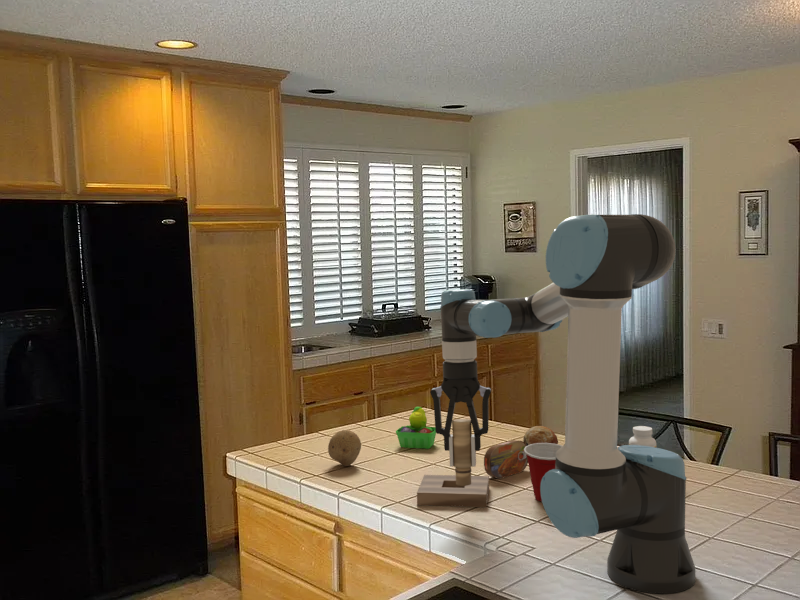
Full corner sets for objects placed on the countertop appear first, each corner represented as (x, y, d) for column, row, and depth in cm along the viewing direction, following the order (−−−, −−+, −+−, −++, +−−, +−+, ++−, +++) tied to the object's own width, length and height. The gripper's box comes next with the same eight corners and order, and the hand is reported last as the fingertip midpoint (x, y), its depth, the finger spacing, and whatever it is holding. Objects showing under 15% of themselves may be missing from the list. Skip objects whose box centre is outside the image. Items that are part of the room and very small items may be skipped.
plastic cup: (536, 508, 178) (536, 456, 177) (517, 494, 189) (516, 445, 188) (579, 503, 181) (579, 452, 180) (558, 489, 192) (557, 441, 191)
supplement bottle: (626, 480, 198) (625, 429, 197) (631, 473, 203) (631, 424, 202) (653, 483, 194) (653, 432, 194) (658, 476, 200) (658, 426, 199)
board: (486, 507, 180) (486, 494, 180) (417, 505, 183) (416, 492, 183) (489, 488, 194) (488, 476, 194) (424, 486, 197) (424, 474, 196)
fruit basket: (395, 448, 234) (394, 410, 233) (403, 441, 242) (402, 404, 241) (432, 450, 230) (431, 412, 229) (439, 442, 239) (438, 406, 238)
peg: (472, 486, 172) (470, 422, 171) (453, 486, 173) (451, 422, 172) (473, 480, 176) (471, 418, 176) (455, 480, 177) (453, 418, 176)
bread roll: (522, 456, 235) (511, 433, 233) (547, 437, 239) (537, 415, 237) (541, 464, 226) (531, 441, 224) (567, 445, 230) (557, 422, 228)
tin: (490, 481, 199) (490, 449, 199) (481, 479, 202) (481, 446, 201) (530, 469, 209) (530, 438, 208) (521, 467, 211) (521, 436, 211)
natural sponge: (346, 472, 210) (345, 436, 209) (321, 467, 215) (320, 431, 214) (368, 464, 217) (367, 429, 216) (343, 459, 222) (342, 425, 222)
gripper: (499, 357, 175) (502, 460, 177) (423, 358, 178) (426, 460, 179) (498, 361, 168) (501, 469, 169) (418, 362, 171) (422, 469, 172)
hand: (463, 464), depth 174 cm, fingers closed on peg, 4 cm apart
